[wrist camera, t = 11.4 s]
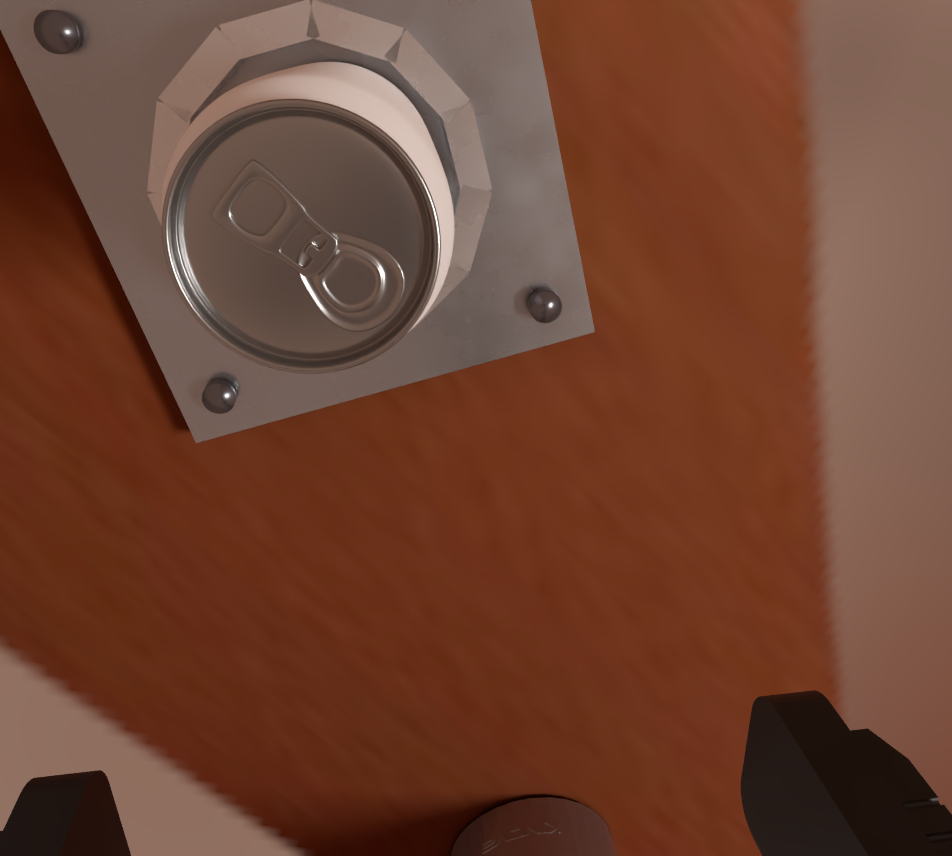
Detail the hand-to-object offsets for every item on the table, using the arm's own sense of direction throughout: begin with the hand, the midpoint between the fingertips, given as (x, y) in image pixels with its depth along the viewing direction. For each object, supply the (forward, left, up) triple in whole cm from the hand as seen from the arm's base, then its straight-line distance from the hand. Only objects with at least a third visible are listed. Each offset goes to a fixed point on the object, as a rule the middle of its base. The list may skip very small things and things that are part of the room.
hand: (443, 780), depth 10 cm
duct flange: (+4, +1, -23) cm, 23 cm away
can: (+5, +1, -22) cm, 22 cm away
